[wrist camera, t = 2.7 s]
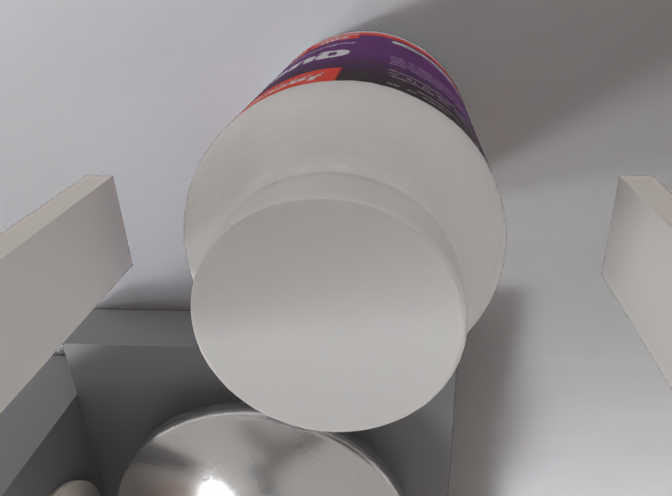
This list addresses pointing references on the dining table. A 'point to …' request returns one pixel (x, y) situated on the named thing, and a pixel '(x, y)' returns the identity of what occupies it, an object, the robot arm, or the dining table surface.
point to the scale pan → (252, 459)
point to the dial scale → (160, 410)
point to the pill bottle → (344, 237)
